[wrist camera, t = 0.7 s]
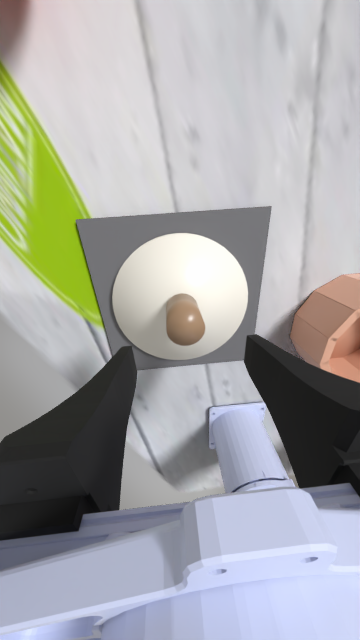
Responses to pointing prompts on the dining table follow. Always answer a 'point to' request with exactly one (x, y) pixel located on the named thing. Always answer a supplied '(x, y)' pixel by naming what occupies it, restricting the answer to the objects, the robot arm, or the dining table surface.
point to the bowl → (331, 327)
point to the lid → (180, 296)
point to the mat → (133, 231)
